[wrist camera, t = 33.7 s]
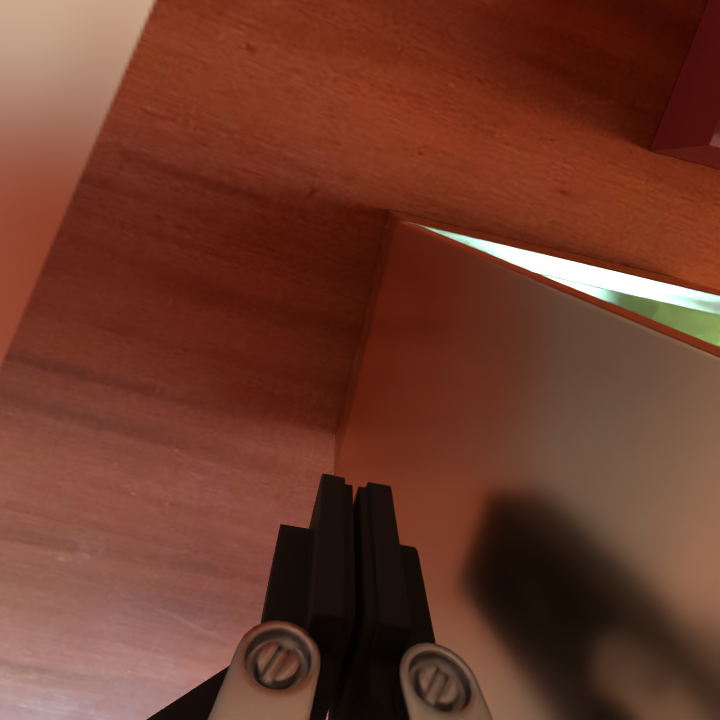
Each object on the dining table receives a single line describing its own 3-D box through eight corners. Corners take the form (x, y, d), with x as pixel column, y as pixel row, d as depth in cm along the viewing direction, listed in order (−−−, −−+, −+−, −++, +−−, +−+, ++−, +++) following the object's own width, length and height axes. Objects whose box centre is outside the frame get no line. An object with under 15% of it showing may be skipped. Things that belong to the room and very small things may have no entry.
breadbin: (676, 277, 27) (797, 313, 20) (585, 480, 32) (656, 570, 24) (388, 209, 26) (405, 221, 18) (335, 434, 30) (332, 516, 23)
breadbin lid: (1603, 702, 2) (1549, 711, 2) (554, 1374, 7) (503, 1400, 7) (417, 224, 18) (397, 219, 18) (340, 522, 22) (323, 522, 22)
